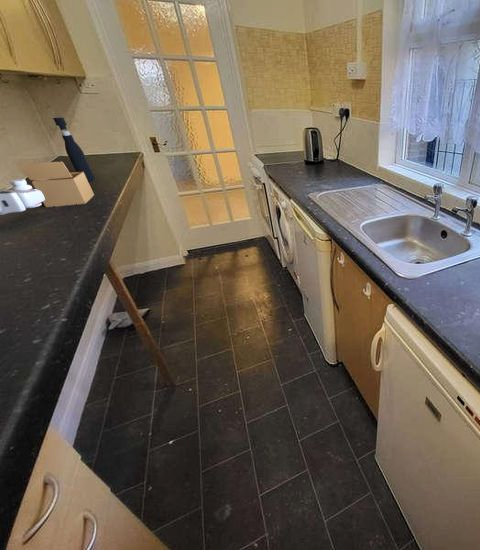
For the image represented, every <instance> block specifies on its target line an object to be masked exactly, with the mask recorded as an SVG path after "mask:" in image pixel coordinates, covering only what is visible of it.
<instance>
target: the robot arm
mask: <svg viewBox="0 0 480 550" xmlns="http://www.w3.org/2000/svg"><path fill="white" fill-rule="evenodd" d="M44 200H45V197H44V195H43V193H42V192H41V191H40V190H37V189H35V188H33V189H30V190H11V188H10V189H0V216H4V215H6V214H13V213H20V212H24V211H26V210H27V209H28V208H27V207H31V206H34V205H36V204H38V203H41V204H42V203H43V201H44Z"/></svg>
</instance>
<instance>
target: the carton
mask: <svg viewBox="0 0 480 550" xmlns="http://www.w3.org/2000/svg"><path fill="white" fill-rule="evenodd" d="M70 174H71V176H72V177H71V178H56V179H42V180H31V184H32V185H33V188H34V189H37V190H40V191H41V192H42V193H43V195H44V197H45V200H44V201H43V202H42V204H43V206H45V208H52V207H53V206H55V207H64V206H65V207H66V205H67V206H75V205H76V204H77V205H85V204H87V203H88V202H89V201H90V200H91V199H92V198H93V197H94V196H95V193H94V191H93V189H92V187H91V185H90V182H88V180H87V178H86V176H85V174H84V172H76V171H75V172H70Z"/></svg>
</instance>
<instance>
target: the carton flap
mask: <svg viewBox="0 0 480 550" xmlns="http://www.w3.org/2000/svg"><path fill="white" fill-rule="evenodd" d="M17 165H18V167H19V168H20V169H21V170H22V171H23V173H24V175H26V176H27V178H28V179H29V181H34V180H42V179H56V178H71V177H72V176H71V174H70V173H71V172H70V171H69V169H68V168H67V167H66V165H65V163H64V162H63V161H46V162H45V161H44V162H28V163H27V162H25V163H18V164H17Z"/></svg>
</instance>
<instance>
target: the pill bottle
mask: <svg viewBox="0 0 480 550" xmlns="http://www.w3.org/2000/svg"><path fill="white" fill-rule="evenodd" d="M9 184H10V185H11V186H12V187H11V188H10V189H11V190H30V189H34V187H33V186H32V185H30V184H28V181H26V179H25V178H18V179H17V178H16V179H11V180H9ZM42 204H43V203H42V202H41V203H38V204H36V205H34V206H31V207H27V208H26V209H33V208H37V207H40V206H42Z"/></svg>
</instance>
